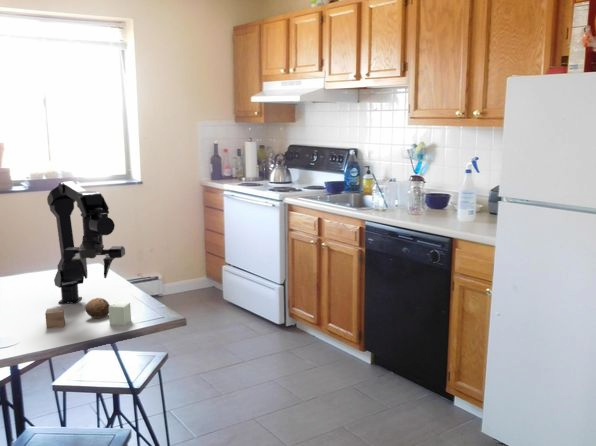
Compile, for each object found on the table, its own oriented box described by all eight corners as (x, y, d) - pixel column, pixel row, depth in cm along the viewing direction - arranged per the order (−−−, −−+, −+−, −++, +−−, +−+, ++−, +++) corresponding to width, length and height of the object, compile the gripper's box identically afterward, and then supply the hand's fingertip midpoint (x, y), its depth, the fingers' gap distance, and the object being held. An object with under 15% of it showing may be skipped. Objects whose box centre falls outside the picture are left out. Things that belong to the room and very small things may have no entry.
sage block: (116, 319, 190) (115, 302, 189) (131, 320, 189) (130, 302, 188) (109, 325, 185) (108, 306, 184) (124, 325, 184) (123, 307, 183)
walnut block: (48, 323, 187) (46, 308, 186) (64, 322, 188) (63, 307, 187) (46, 328, 182) (45, 313, 181) (63, 327, 184) (62, 311, 183)
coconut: (84, 303, 197) (89, 291, 194) (107, 309, 200) (113, 297, 197) (80, 321, 190) (86, 308, 187) (104, 327, 193) (110, 315, 190)
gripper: (54, 236, 180) (58, 285, 183) (115, 235, 181) (118, 284, 184) (66, 230, 191) (70, 276, 194) (124, 229, 192) (126, 275, 195)
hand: (95, 278), depth 191 cm, fingers open, 6 cm apart
